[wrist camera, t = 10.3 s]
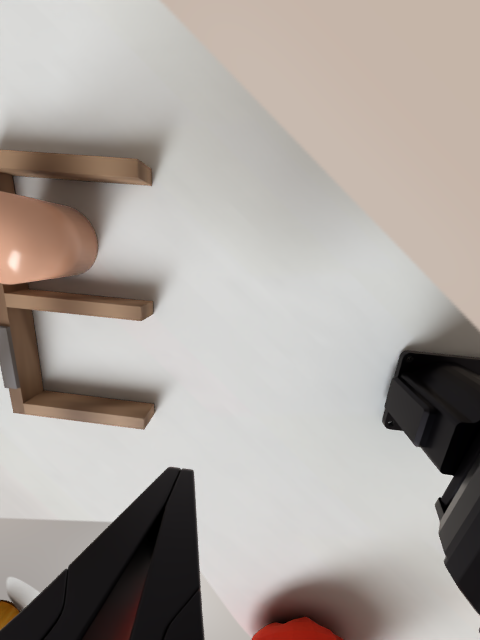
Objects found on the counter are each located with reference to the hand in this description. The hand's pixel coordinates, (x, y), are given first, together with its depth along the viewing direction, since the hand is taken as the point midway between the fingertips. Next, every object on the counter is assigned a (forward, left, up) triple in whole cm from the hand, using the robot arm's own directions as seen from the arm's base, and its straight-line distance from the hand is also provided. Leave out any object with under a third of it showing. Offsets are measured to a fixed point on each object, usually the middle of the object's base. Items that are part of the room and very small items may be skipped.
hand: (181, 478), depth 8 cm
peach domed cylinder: (+13, -7, -12) cm, 19 cm away
